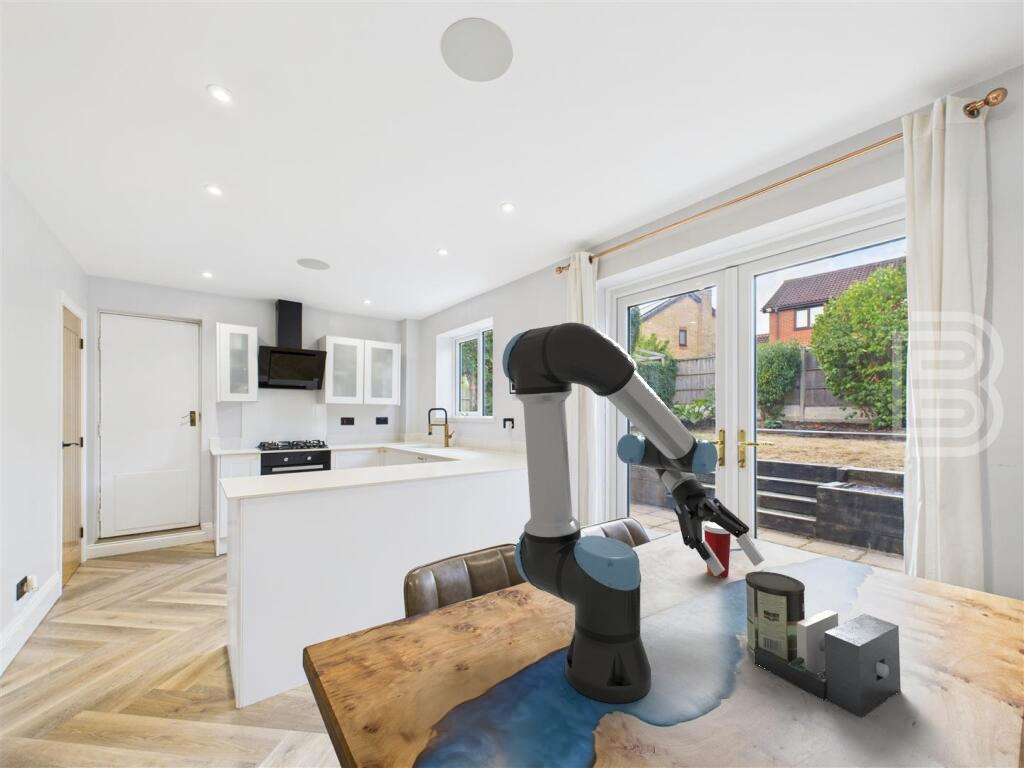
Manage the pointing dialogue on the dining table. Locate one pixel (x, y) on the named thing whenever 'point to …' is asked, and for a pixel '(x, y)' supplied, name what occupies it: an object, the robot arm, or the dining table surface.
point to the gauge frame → (848, 665)
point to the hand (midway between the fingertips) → (740, 568)
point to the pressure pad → (819, 643)
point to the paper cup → (718, 545)
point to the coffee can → (774, 612)
